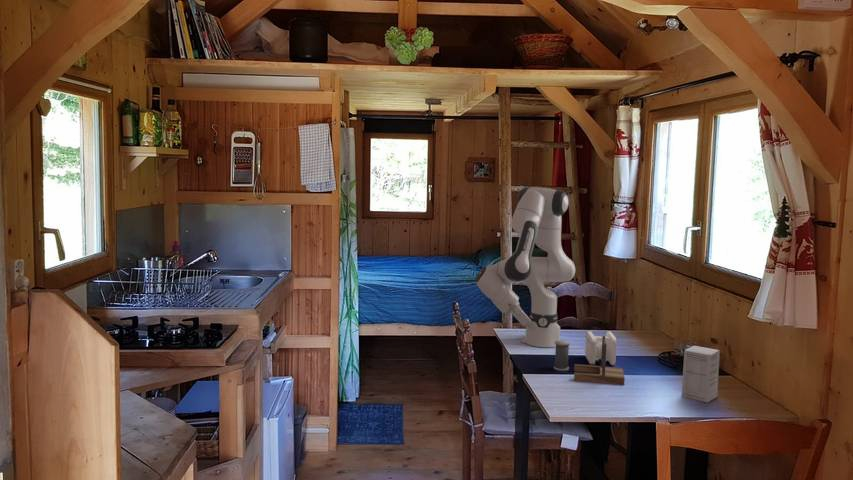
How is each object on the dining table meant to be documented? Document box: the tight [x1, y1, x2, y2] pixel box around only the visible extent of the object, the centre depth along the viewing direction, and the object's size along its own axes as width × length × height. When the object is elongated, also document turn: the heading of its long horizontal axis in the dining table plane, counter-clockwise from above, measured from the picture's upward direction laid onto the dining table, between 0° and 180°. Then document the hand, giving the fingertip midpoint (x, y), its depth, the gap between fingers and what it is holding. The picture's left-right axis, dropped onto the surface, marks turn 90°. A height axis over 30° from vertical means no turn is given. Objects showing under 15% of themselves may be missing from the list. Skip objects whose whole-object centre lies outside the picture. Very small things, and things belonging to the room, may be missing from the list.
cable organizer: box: [584, 330, 617, 366], centre depth 280 cm, size 15×11×12 cm
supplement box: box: [681, 345, 721, 403], centre depth 240 cm, size 10×9×17 cm
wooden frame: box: [573, 335, 625, 386], centre depth 260 cm, size 13×18×14 cm
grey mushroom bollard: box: [553, 339, 571, 372], centre depth 270 cm, size 6×6×11 cm
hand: (531, 327), depth 268 cm, fingers open, 8 cm apart
